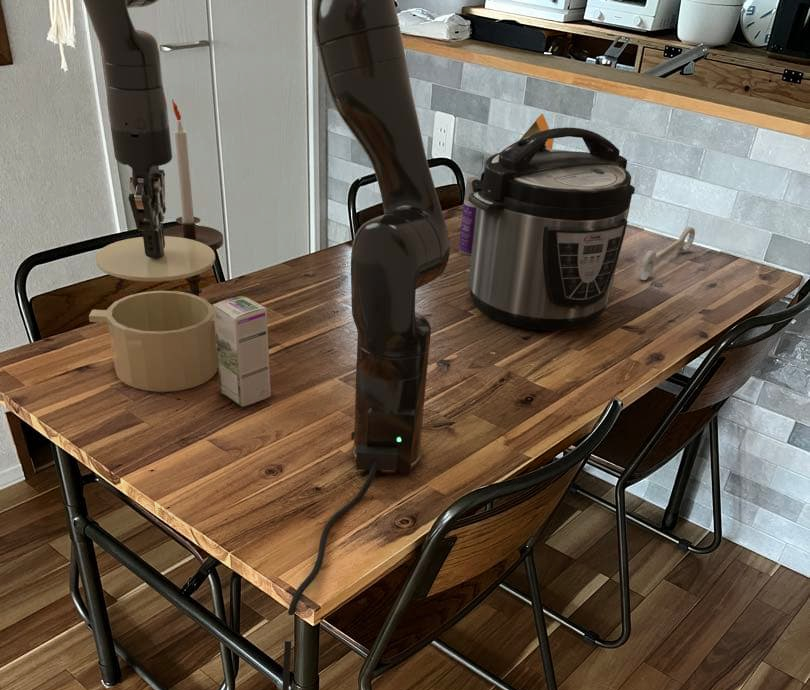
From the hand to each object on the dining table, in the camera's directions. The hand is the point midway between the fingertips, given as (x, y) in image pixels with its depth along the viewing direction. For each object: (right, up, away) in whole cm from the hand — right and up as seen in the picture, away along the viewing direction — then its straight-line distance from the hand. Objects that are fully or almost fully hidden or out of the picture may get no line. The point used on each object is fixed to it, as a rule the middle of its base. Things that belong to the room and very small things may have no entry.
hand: (155, 252), depth 122 cm
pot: (-2, -15, +11) cm, 18 cm away
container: (+50, +21, +62) cm, 83 cm away
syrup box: (+12, -20, +6) cm, 24 cm away
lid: (0, -1, +1) cm, 1 cm away
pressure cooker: (+62, +3, +40) cm, 74 cm away
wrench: (+93, +18, +63) cm, 114 cm away
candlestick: (-1, -3, +26) cm, 27 cm away
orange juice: (+67, +44, +93) cm, 123 cm away
